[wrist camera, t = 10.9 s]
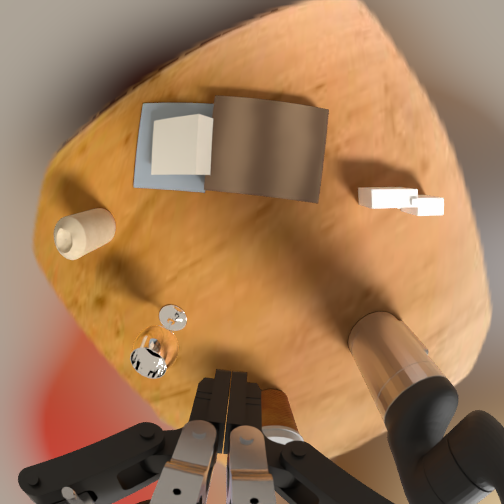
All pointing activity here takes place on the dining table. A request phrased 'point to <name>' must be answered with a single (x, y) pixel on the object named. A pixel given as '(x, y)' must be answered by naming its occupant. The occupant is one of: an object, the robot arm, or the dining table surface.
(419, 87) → the dining table surface
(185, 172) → the white block
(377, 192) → the napkin holder
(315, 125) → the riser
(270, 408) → the disposable coffee cup
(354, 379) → the dining table surface
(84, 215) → the candle
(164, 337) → the wineglass
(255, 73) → the dining table surface
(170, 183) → the mat
